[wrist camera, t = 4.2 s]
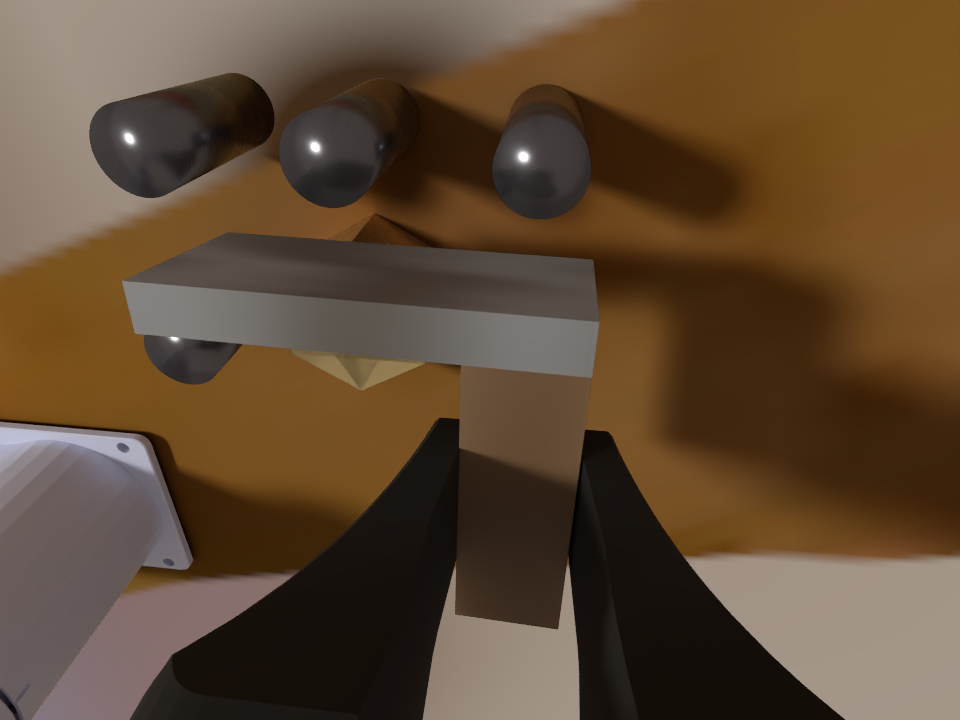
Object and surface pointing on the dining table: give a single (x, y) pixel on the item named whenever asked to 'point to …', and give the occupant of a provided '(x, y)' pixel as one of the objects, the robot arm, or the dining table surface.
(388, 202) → the dining table surface
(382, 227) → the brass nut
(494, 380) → the hook tool
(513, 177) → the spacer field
